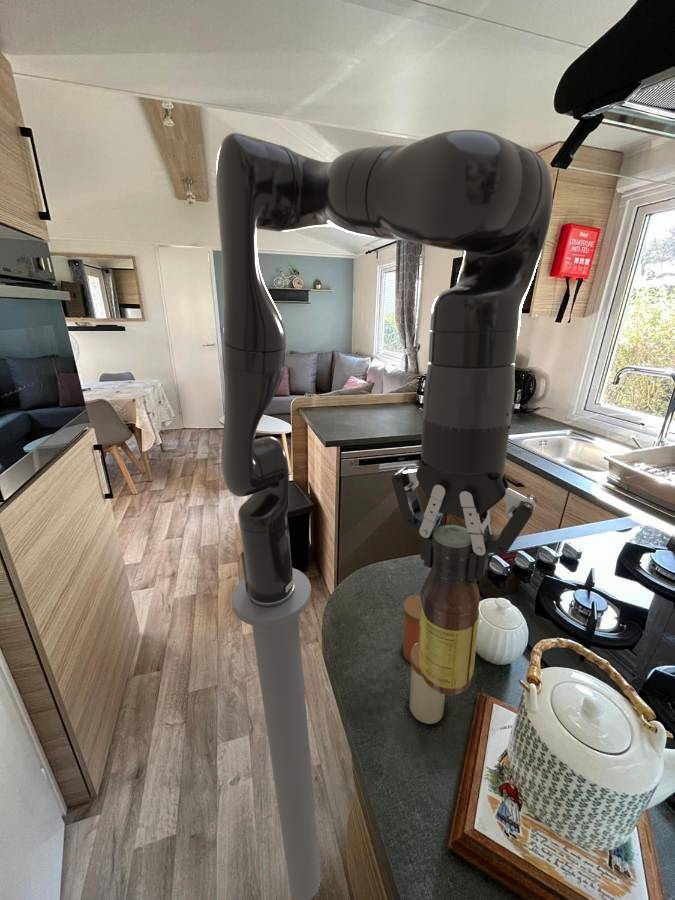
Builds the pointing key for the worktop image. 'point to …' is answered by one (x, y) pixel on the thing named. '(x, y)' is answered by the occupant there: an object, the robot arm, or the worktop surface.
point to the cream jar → (423, 694)
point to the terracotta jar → (411, 624)
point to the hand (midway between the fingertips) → (451, 570)
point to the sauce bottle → (448, 614)
